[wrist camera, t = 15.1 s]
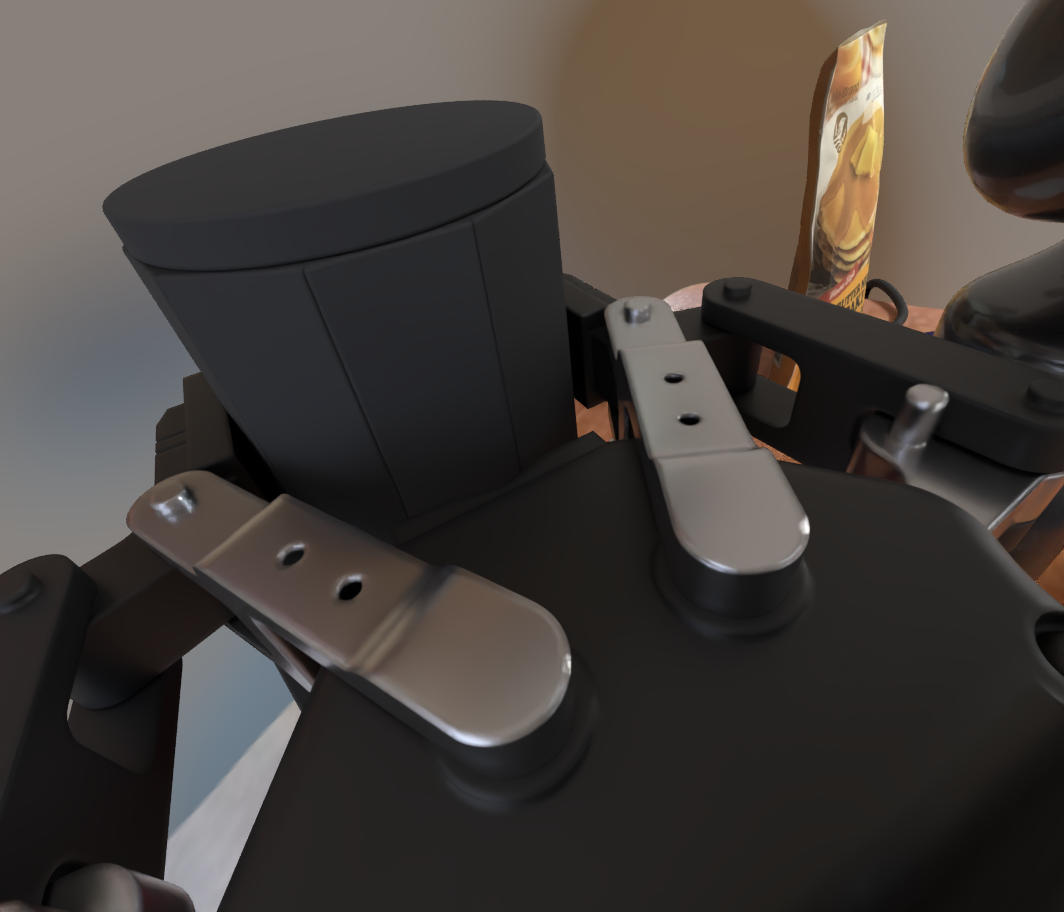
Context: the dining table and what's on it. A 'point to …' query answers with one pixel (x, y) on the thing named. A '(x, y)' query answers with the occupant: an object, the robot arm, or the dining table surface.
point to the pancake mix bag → (840, 181)
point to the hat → (369, 301)
